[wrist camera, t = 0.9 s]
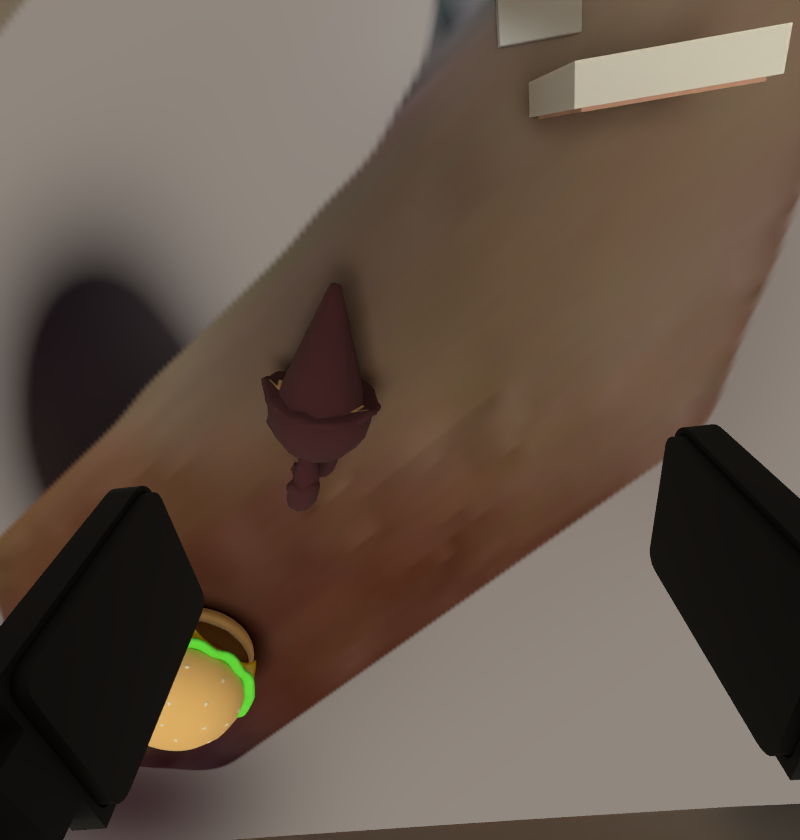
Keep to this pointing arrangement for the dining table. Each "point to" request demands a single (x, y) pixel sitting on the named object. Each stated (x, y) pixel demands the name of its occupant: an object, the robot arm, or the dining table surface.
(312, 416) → the icecream
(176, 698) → the hamburger
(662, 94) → the tile
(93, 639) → the robot arm
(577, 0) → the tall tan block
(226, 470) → the dining table surface
